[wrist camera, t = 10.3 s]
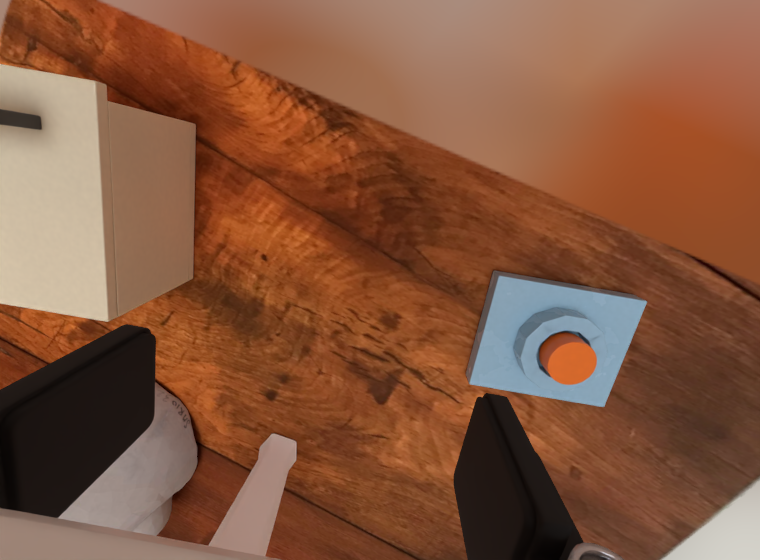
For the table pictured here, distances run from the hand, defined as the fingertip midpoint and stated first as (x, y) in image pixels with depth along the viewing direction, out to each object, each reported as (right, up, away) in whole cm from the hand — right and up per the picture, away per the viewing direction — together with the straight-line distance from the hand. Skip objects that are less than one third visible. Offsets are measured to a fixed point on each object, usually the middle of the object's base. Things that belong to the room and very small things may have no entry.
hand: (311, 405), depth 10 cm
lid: (-19, +9, +10) cm, 23 cm away
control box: (+17, -1, +21) cm, 27 cm away
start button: (+16, -2, +18) cm, 25 cm away
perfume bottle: (-8, -14, +26) cm, 30 cm away
